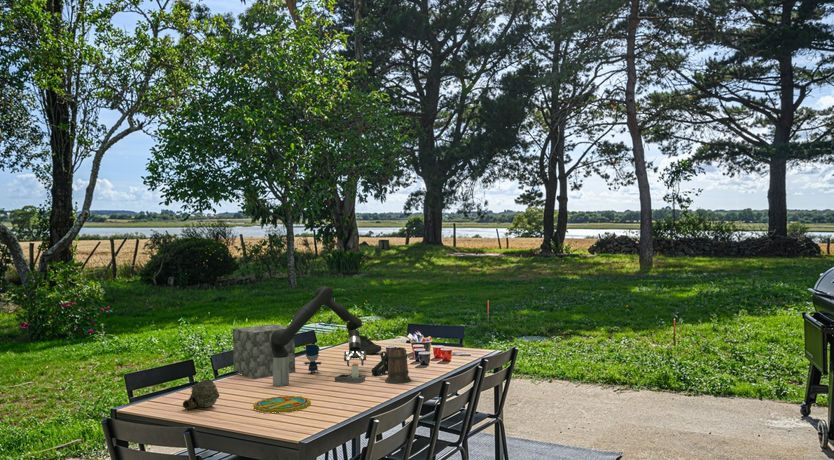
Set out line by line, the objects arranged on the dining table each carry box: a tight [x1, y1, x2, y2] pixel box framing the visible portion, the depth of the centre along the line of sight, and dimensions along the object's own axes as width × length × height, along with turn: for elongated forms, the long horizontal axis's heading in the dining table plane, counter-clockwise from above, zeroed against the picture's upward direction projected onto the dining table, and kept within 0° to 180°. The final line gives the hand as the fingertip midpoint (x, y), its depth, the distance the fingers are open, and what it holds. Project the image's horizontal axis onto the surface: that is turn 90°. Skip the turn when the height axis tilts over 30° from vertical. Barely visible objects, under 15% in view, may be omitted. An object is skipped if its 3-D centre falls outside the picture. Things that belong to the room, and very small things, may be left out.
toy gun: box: [371, 351, 389, 377], centre depth 430 cm, size 22×5×15 cm
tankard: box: [377, 346, 413, 385], centre depth 409 cm, size 24×17×20 cm
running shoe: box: [360, 335, 382, 355], centre depth 510 cm, size 11×30×14 cm, turn 54°
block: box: [232, 323, 296, 380], centre depth 445 cm, size 30×30×30 cm
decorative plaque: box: [252, 395, 311, 414], centre depth 352 cm, size 30×3×30 cm
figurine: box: [303, 343, 322, 374], centre depth 438 cm, size 13×9×20 cm
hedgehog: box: [182, 378, 220, 411], centre depth 353 cm, size 18×14×15 cm
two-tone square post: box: [351, 362, 360, 378], centre depth 408 cm, size 4×4×11 cm
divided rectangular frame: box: [334, 373, 366, 384], centre depth 410 cm, size 8×17×3 cm, turn 66°
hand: (355, 365), depth 420 cm, fingers open, 8 cm apart
